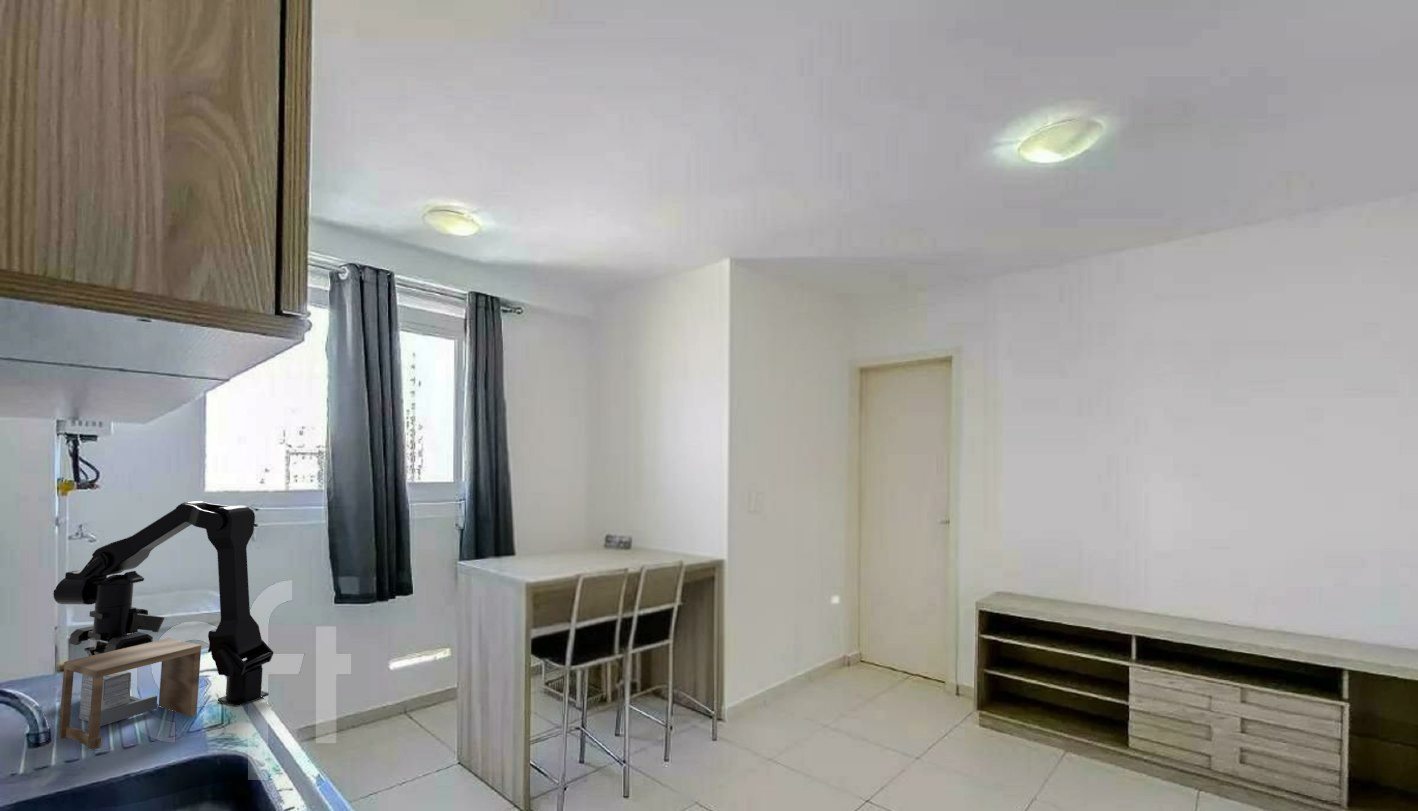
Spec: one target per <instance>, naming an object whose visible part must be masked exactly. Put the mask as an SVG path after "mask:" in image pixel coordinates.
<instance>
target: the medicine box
mask: <svg viewBox="0 0 1418 811" xmlns="http://www.w3.org/2000/svg"><path fill="white" fill-rule="evenodd" d="M81 675H82V676H81V689H80V702H79V719H81V720H83V721H86V722H89V714H90V711H91V698H92V685H93V677H90V676H87V675H84V674H81ZM131 682H132V673H131V672H130V671H129V670H126V671H122V672H118V673H114V674H111V675H107V676H103V689H102V702H101V711H102V710H105V709H108V708H112V707H115V706H119V705H122V704H125V703H129V702H130V696H131V684H132V683H131Z"/></svg>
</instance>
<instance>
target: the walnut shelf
mask: <svg viewBox="0 0 1418 811" xmlns="http://www.w3.org/2000/svg"><path fill="white" fill-rule="evenodd" d="M201 654H202V644H197V643H192V642H188V641H183V640H179V639H174V638H170V637H167V638H163V639H159V640H154V641H153V642H150V643H145V644H141V645H136V646H132V647H128V648H123V649H119V650H114V651H110V652H106V653H101V654H97V655H92V656H89V655H88V656H84V657H80V658H76V659H72V660H67V661H64V662H63V663H64V664H63V673H62V674H63V676H62V687H61V700H60V711H59V724H58V725H59V727H58V736H59V737H60V738H59V737H58V738H59V739H64V738H67V739H69V740H73V741H75V742H78V743H80V744H83V745H86V746H87V749H88V750H90V751H91V750H94V749H98V748H99V747H102V736H100V728H101V726H100V715H101V702H102V689H103V676H107V675H111V674H114V673H118V672H122V671H129V670H133V669H138V668H141V667H145V666H150V665H154V664H157V663H161V667H160V680H159V681H160V682H159V696H158V699H159V700H158V707H159V706H161V707H160V708H162V707H163V708H162V709H165V708H166V710H168V709H170V710H169V711H171V710H173V711H172V712H175V711H176V713H179V714H182V715H184V716H185V715H186V716H188V717H192V716H197V714H198V701H199V700H198V698H199V697H198V696H199V685H200V684H199V683H200V670H201V669H200V668H201ZM74 673H78V674H80V675H83V674H84V675H87V676H90V677H93V685H92V698H91V711H90V723H89V728H88V731H86V730H82V729H80V728H76V727H74V726H71V725H70V723H71V712H72V709H71V708H72V698H73V685H74V684H73V683H74Z"/></svg>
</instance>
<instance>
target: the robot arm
mask: <svg viewBox="0 0 1418 811" xmlns="http://www.w3.org/2000/svg"><path fill="white" fill-rule="evenodd" d="M255 520H256V515H255V512H254V510H253V509H251V508H250V507H249V506H247V505H245V504H243V505H242V504H241V505H240V504H239V505H226V504H217V503H216V504H215V503H209V502H205V501H202V500H196V501H188V502H187V501H185V502H182V503H180V504H178V505H177V506H176V507H175V508H174V509H172V510H171V511H169V512H168V513H166V514H165V515H163V516H162V517H160V518H158V519H156V520H155V521H153V522H151V523H150V524H148V525H147V526H145V527H143V529H140V530H139V531H137V532H136V533H134V534H133V535H130V536H128V537H125V538H123V539H119V540H116V541H113V542H110V543H108V544H105V545H103V546H101V547H98V548H97V549H96V550H94V551H93V553H92V557H91V559H90V560H89V561H88V562H87V564H86V565H85V566H84V567H83V569H82V570H72V571H68V572H67V571H66V572H65V576H64V578H63V579H61V580H60V581H59V582H58V584H57V585H56V587H55V589H54V590H53V592H52V594H53V599H54V601H55V602H56V603H58V604H60V605H82V606H83V605H85V606H87V605H88V606H89V605H91V606H92V605H94V610H90V611H89V617H91V618H93V625H91V626H86V627H81V628H75V630H74V631H73V632H72V633H71V634H70V635H69V644H70V645H73V646H79V645H80V644H81V643H82V642H86V641H89V646H88V647H86V648H83V651H84V652H86V654H87V655H88V656H92V655H97V654H101V653H106V652H110V651H114V650H119V649H123V648H128V647H132V646H136V645H141V644H145V643H150V642H154V641H153V640H154V639H153V638H154V637H153V636H152V635H150V634H148V633H145V632H140V631H142V630H143V631H151V632H152V633H159V631H160V629H161V626H162V624H163V622H164V620H165V617H164V616H158V615H153V614H149V610H148V609H145V608H143V609H142V608H137V607H133V593H134V584H136V583H140V582H144V581H145V577H143V576H142V575H140V574H139V573H137V571H136V570H133V569H136V568H137V567H139V566H140V565H141V564H142V563H143V562H144V561H145V560H146V559H148V557H149V556H150V554H151V552H152V551H153V550H154V549H155V548H157V547H158V546H160V545H161V544H163V543H165V542H166V541H168V540H169V539H171V538H173V537H174V536H175V535H177V534H179V533H180V532H182V531H183V530H185V529H187V528H188V527H190V526H194V527H196V528H199V529H205V530H206V535H207V539H208V541H209V542H210V544H211V545H212V546H213V547H214V548H215V550H216V553H217V554H216V555H217V572H218V589H219V590H218V592H219V608H220V609H219V610H220V611H219V612H220V621H219V623H218V625H217V627H216V628H215V629H212V630H209V631H208V634H207V637H208V642H209V645H208V650H207V652H208V653H210V652H211V654H210V655H211V658H212V660H213V661H214V663H215V667H216V670H217V673H218V675H219V676H225V677H226V684H225V685H226V687H225V695H224V696H222V697H219V698H217V702H220V703H222V702H223V704H226V705H231V706H233V707H238V706H241V705H244V704H247V703H249V702H253V701H256V700H260V699H261V698H265V697H268V696H269V692H267V691H264V690H262V685H263V670H264V668H263V665H264V664H266V663H270V662H271V661H272V658H273V656H274V651H273V650H272V649H271V648H270V647H269V645H267V643H266V642H265V641H264V640H263V639H262V635H261V631H260V626H259V624H258V623H257V621H256V620H255V619H254V618H253V615H251V611H250V610H251V609H250V595H249V594H250V592H249V591H250V589H249V574H248V572H249V570H248V555H247V551H248V550H247V547H248V544H249V542H250V540H251V538H252V537H253V535H254V532H255V531H254V530H255V523H256V521H255ZM128 570H131V571H128ZM124 571H127V572H124ZM121 573H123V574H121ZM139 630H140V631H139ZM261 696H262V697H261Z"/></svg>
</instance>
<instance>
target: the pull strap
mask: <svg viewBox="0 0 1418 811" xmlns="http://www.w3.org/2000/svg"><path fill="white" fill-rule="evenodd" d="M158 707H159V703H158V695H155V694H153V695H150V696H147V697H143V698H139V697H136V696H133V695H130V702H129V703H125V704H122V705H119V706H115V707H112V708H108V709H105V710H102V711H101V715H100V727H102V726H106V725H109V723H110V724H112V723H115V722H118V721H121V720H125V718H126V719H129V718H131V717H135V716H138V715H141V714H144V713H147V712H151V711H154V710H157V709H158ZM87 722H88V724H87V725H88V726H87V729H89V723H90V714H89V721H87Z"/></svg>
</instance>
